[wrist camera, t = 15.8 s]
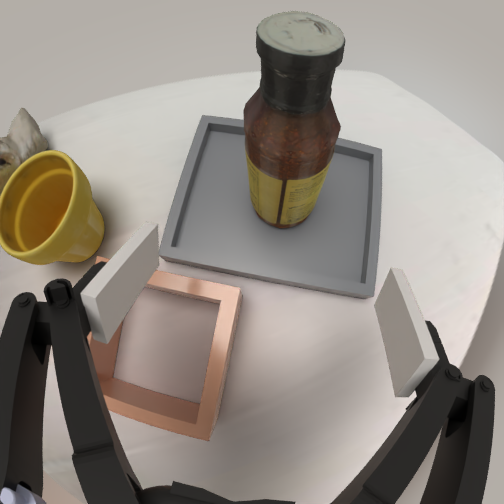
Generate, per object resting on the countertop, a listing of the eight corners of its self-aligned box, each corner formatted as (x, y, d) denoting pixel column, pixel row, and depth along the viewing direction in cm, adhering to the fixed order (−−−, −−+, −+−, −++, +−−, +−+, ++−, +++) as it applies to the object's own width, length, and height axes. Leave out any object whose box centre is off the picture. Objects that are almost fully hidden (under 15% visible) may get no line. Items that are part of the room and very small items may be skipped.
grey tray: (165, 260, 29) (157, 254, 27) (205, 128, 33) (202, 115, 31) (364, 298, 28) (373, 296, 26) (374, 160, 32) (381, 149, 30)
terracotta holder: (101, 384, 26) (71, 393, 20) (124, 269, 29) (97, 256, 23) (217, 419, 26) (208, 441, 20) (242, 295, 29) (240, 287, 23)
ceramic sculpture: (38, 99, 25) (-17, 219, 22) (72, 133, 34) (28, 237, 31) (-3, 102, 26) (-49, 203, 23) (28, 130, 34) (-10, 220, 32)
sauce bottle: (316, 181, 30) (379, 19, 11) (307, 237, 29) (388, 91, 10) (254, 167, 31) (255, -7, 11) (240, 223, 29) (221, 57, 10)
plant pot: (94, 174, 32) (53, 129, 22) (137, 234, 30) (95, 196, 21) (36, 231, 30) (-15, 203, 21) (71, 297, 28) (13, 283, 19)
